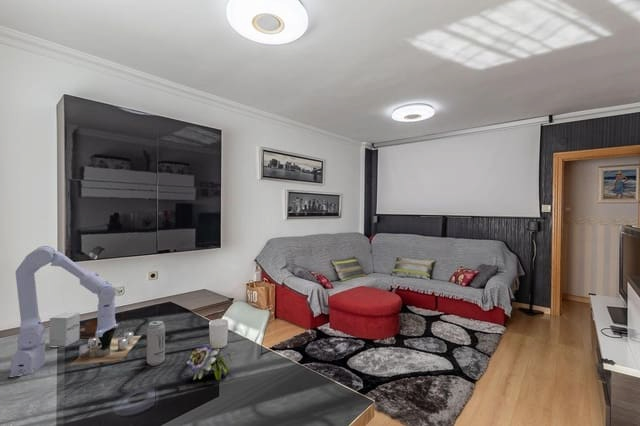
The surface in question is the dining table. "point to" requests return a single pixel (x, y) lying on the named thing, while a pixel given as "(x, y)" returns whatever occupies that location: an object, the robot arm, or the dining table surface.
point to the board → (112, 356)
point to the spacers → (93, 342)
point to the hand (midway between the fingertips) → (106, 348)
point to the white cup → (218, 332)
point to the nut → (102, 351)
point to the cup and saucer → (89, 329)
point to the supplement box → (64, 329)
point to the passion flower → (207, 361)
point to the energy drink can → (155, 343)
